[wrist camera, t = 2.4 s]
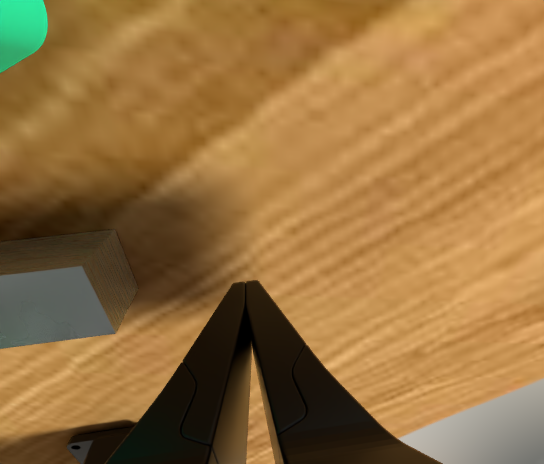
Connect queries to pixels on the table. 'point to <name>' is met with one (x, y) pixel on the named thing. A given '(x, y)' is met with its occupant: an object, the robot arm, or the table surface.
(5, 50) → the camera mount
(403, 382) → the table surface
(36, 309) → the grey rectangular block
